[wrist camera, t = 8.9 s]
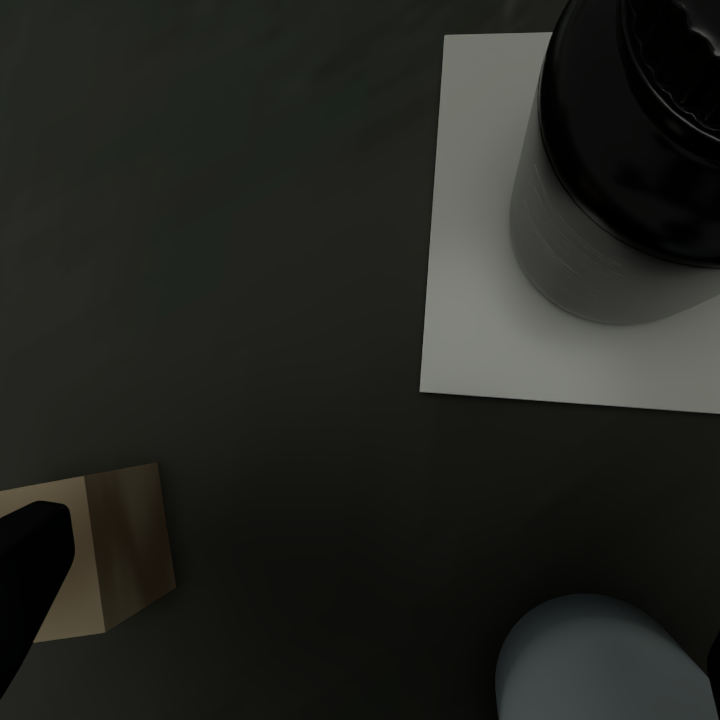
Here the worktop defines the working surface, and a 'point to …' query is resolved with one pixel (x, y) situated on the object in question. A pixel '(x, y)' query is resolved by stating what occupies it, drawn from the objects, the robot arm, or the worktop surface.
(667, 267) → the supplement bottle
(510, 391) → the plate
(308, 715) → the worktop surface
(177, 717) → the worktop surface
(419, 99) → the worktop surface
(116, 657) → the worktop surface
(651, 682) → the blue-grey rounded cylinder
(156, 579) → the oak block
